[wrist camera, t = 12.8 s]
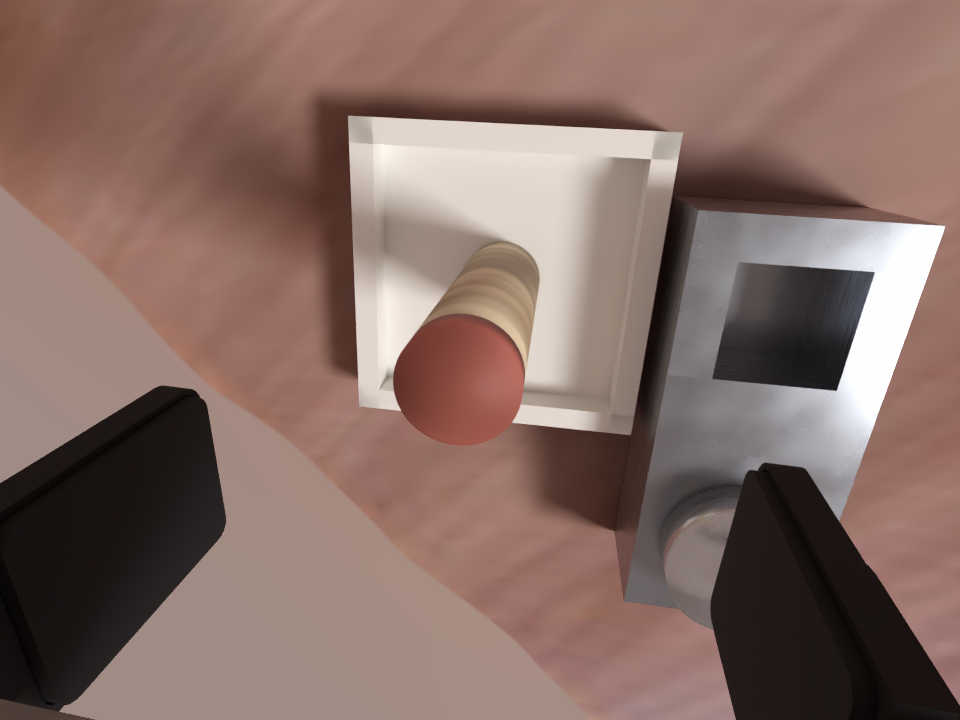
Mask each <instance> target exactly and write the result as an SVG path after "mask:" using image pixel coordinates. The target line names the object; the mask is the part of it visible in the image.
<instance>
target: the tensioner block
mask: <svg viewBox="0 0 960 720" xmlns="http://www.w3.org/2000/svg"><path fill="white" fill-rule="evenodd" d="M944 228H945V226H943V225H939V224H935V223H931V222H927V221H922V220H918V219H914V218H910V217H906V216H902V215H898V214H894V213H889V212H885V211H881V210H877V209H873V208H866V207H850V206H833V205H817V204H801V203H785V202H768V201H752V200H736V199H720V198H703V197H687V196H672V202H671V208H670V213H669V219H668V225H667V231H666V237H665V242H664V248H663V254H662V260H661V266H660V271H659V277H658V283H657V289H656V295H655V300H654V306H653V312H652V318H651V324H650V329H649V335H648V341H647V347H646V353H645V359H644V364H643V370H642V376H641V382H640V388H639V393H638V399H637V405H636V411H635V417H634V422H633V428H632V434H631V440H630V446H629V451H628V457H627V463H626V469H625V475H624V480H623V486H622V492H621V498H620V504H619V509H618V515H617V521H616V527H615V538H616V546H617V553H618V561H619V569H620V576H621V584H622V591H623V599H624V601H626V602H633V603H640V604H648V605H655V606H662V607H669V608H677V609H680V610H681V611H682V612H683V613H684V614H685V615H686V616H688V617H689V618H690V619H692V620H693V621H695V622H697V623H699V624H700V625H703V626H705V627H708V628H710V629H713V625H712V621H711V614H710V603H711V596H712V592H713V589H714V585H715V582H716V578H717V574H718V571H719V567H720V564H721V560H722V556H723V553H724V549H725V546H726V542H727V539H728V535H729V531H730V528H731V524H732V521H733V517H734V513H735V510H736V506H737V503H738V499H739V496H740V492H741V488H742V485H743V481H744V478H745V475H746V473H747V472H748V471H749V470H756V471H758V469H759V467H760V466H761V464H763V463H764V462H765V463H773V464H781V465H789V466H797V467H802V468H805V469H806V470H807V471H808V473H809V474H810V476H811V478H812V479H813V481H814V482H815V484H816V485H817V487H818V489H819V490H820V492H821V493H822V495H823V497H824V498H825V500H826V501H827V503H828V504H829V506H830V508H831V509H832V511H833V512H834V514H835V516H836V517H837V519H838V520H839V521H840V518H841V516H842V513H843V510H844V507H845V504H846V502H847V499H848V496H849V493H850V490H851V488H852V485H853V482H854V479H855V477H856V474H857V471H858V468H859V465H860V463H861V460H862V457H863V454H864V451H865V449H866V446H867V443H868V440H869V438H870V435H871V432H872V429H873V426H874V424H875V421H876V418H877V415H878V412H879V410H880V407H881V404H882V401H883V398H884V396H885V393H886V390H887V387H888V385H889V382H890V379H891V376H892V373H893V371H894V368H895V365H896V362H897V359H898V357H899V354H900V351H901V348H902V346H903V343H904V340H905V337H906V334H907V332H908V329H909V326H910V323H911V320H912V318H913V315H914V312H915V309H916V307H917V304H918V301H919V298H920V295H921V293H922V290H923V287H924V284H925V281H926V279H927V276H928V273H929V270H930V267H931V265H932V262H933V259H934V256H935V254H936V251H937V248H938V245H939V242H940V240H941V237H942V234H943V231H944Z"/></svg>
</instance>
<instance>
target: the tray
mask: <svg viewBox="0 0 960 720" xmlns="http://www.w3.org/2000/svg"><path fill="white" fill-rule="evenodd" d="M348 130H349V156H350V181H351V207H352V232H353V258H354V283H355V309H356V334H357V360H358V385H359V406H361V407H371V408H380V409H389V410H399V411H401V409H400V407H399V405H398V403H397V400H396V398H395V394H394V389H393V373H394V368H395V365H396V362H397V359H398V357H399V355H400V353H401V352H402V350H403V349H404V348H405V346H406V345H407V344H408V342H409V341H410V340H411V338H412V337H413V336H414V334H415V333H416V331H417V330H418V329H419V327H420V326H421V325H422V323H423V322H424V321H425V319H426V318H427V317H428V315H429V314H430V313H431V311H432V310H433V309H434V307H435V306H436V305H437V303H438V302H439V301H440V299H441V298H442V297H443V295H444V294H445V293H446V291H447V290H448V289H449V287H450V286H451V284H452V283H453V282H454V280H455V279H456V278H457V276H458V275H459V274H460V272H461V271H462V270H463V268H464V267H465V266H466V264H467V263H468V262H469V260H470V259H471V258H472V256H473V255H474V254H475V253H476V252H477V251H478V250H479V249H480V248H482V247H483V246H485V245H488V244H490V243H494V242H510V243H514V244H517V245H519V246H521V247H522V248H524V249H525V250H526V251H528V252H529V253H530V254H531V256H532V257H533V258H534V260H535V262H536V264H537V266H538V270H539V275H540V283H539V290H538V296H537V303H536V309H535V316H534V322H533V329H532V336H531V342H530V349H529V355H528V362H527V369H526V375H525V382H524V388H523V395H522V402H521V405H520V408H519V411H518V413H517V415H516V417H515V418H514V420H513V421H512V423H521V424H530V425H539V426H549V427H558V428H568V429H577V430H586V431H596V432H605V433H614V434H624V435H631V432H632V426H633V420H634V414H635V408H636V402H637V397H638V391H639V385H640V379H641V373H642V368H643V362H644V356H645V350H646V344H647V338H648V333H649V327H650V321H651V315H652V309H653V304H654V298H655V292H656V286H657V280H658V274H659V269H660V263H661V257H662V251H663V245H664V240H665V234H666V228H667V222H668V216H669V210H670V205H671V199H672V193H673V187H674V181H675V175H676V170H677V164H678V158H679V152H680V146H681V141H682V135H683V132H663V131H643V130H623V129H603V128H583V127H563V126H543V125H523V124H503V123H483V122H463V121H443V120H423V119H403V118H382V117H362V116H348Z"/></svg>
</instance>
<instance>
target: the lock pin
mask: <svg viewBox="0 0 960 720" xmlns="http://www.w3.org/2000/svg"><path fill="white" fill-rule="evenodd" d="M539 283H540V275H539V270H538V266H537V264H536V262H535V260H534V258H533V257H532V256H531V254H530V253H529V252H528V251H526V250H525V249H524V248H522V247H521V246H519V245H517V244H514V243H510V242H494V243H490V244H488V245H485V246H483V247H482V248H480V249H479V250H478V251H477V252H476V253H475V254H474V255H473V256H472V258H471V259H470V260H469V262H468V263H467V264H466V266H465V267H464V268H463V270H462V271H461V272H460V274H459V275H458V276H457V278H456V279H455V280H454V282H453V283H452V284H451V286H450V287H449V289H448V290H447V291H446V293H445V294H444V295H443V297H442V298H441V299H440V301H439V302H438V303H437V305H436V306H435V307H434V309H433V310H432V311H431V313H430V314H429V315H428V317H427V318H426V319H425V321H424V322H423V323H422V325H421V326H420V327H419V329H418V330H417V331H416V333H415V334H414V336H413V337H412V338H411V340H410V341H409V342H408V344H407V345H406V346H405V348H404V349H403V350H402V352H401V353H400V355H399V357H398V359H397V362H396V365H395V368H394V373H393V389H394V394H395V398H396V400H397V403H398V405H399V407H400V409H401V411H402V413H403V414H404V416H405V417H406V418H407V420H408V421H409V422H410V423H411V424H412V425H413V426H414V427H415V428H416V429H417V430H419V431H420V432H422V433H423V434H424V435H426V436H428V437H430V438H432V439H434V440H437V441H439V442H443V443H446V444H451V445H463V446H464V445H474V444H479V443H482V442H486V441H488V440H490V439H492V438H494V437H496V436H498V435H499V434H501V433H502V432H503V431H504V430H505V429H507V427H508V426H509V425H510V424H511V423H512V421H513V420H514V418H515V417H516V415H517V413H518V411H519V408H520V405H521V402H522V395H523V388H524V382H525V375H526V369H527V362H528V355H529V349H530V342H531V336H532V329H533V322H534V316H535V309H536V303H537V296H538V290H539Z"/></svg>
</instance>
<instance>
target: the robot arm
mask: <svg viewBox="0 0 960 720" xmlns="http://www.w3.org/2000/svg"><path fill="white" fill-rule="evenodd" d="M225 524H226V515H225V510H224V503H223V497H222V491H221V485H220V479H219V474H218V467H217V461H216V456H215V450H214V444H213V438H212V432H211V426H210V420H209V415H208V409H207V405H206V403H205V401H204V400H203V399H201V398H200V396H199V395H198V394H197V392H196V391H194V390H193V389H186V388H178V387H170V386H159V387H156V388H154V389H153V390H151V391H150V392H148V393H146V394H145V395H143V396H141V397H140V398H138V399H136V400H135V401H133V402H132V403H130V404H128V405H127V406H125V407H124V408H122V409H120V410H119V411H117V412H116V413H114V414H112V415H111V416H109V417H107V418H106V419H104V420H102V421H101V422H99V423H97V424H96V425H94V426H93V427H91V428H89V429H88V430H86V431H85V432H83V433H81V434H80V435H78V436H76V437H75V438H73V439H72V440H70V441H68V442H67V443H65V444H64V445H62V446H60V447H59V448H57V449H55V450H54V451H52V452H50V453H49V454H47V455H46V456H44V457H43V458H41V459H39V460H37V461H36V462H34V463H33V464H31V465H29V466H28V467H26V468H25V469H23V470H22V471H20V472H18V473H16V474H15V475H13V476H11V477H10V478H8V479H7V480H5V481H3V482H2V483H0V720H94V719H90V718H85V717H80V716H76V715H71V714H66V713H62V712H59V711H60V710H61V708H62V707H63V706H64V705H68V704H70V703H72V702H74V701H75V700H76V699H78V698H79V697H80V696H81V695H82V693H83V692H84V691H85V690H86V689H87V688H88V687H89V686H90V684H91V683H92V682H93V681H94V680H95V679H96V678H97V677H98V675H99V674H100V673H101V672H102V671H103V670H104V668H105V667H106V666H107V665H108V664H109V663H110V662H111V661H112V660H113V658H114V657H115V656H116V655H117V654H118V653H119V652H120V651H121V649H122V648H123V647H124V646H125V645H126V643H128V641H129V640H130V639H131V638H132V637H133V636H134V635H135V633H136V632H137V631H138V630H139V629H140V628H141V627H142V625H143V624H144V623H145V622H146V621H147V620H148V619H149V618H150V617H151V615H152V614H153V613H154V612H155V611H156V610H157V609H158V607H159V606H160V605H161V604H162V603H163V602H164V601H165V600H166V598H167V597H168V596H169V595H170V594H171V593H172V592H173V590H174V589H175V588H176V587H177V586H178V585H179V584H180V583H181V581H182V580H183V579H184V578H185V577H186V576H187V575H188V573H189V572H190V571H191V570H192V569H193V568H194V567H195V565H196V564H197V563H198V562H199V561H200V560H201V559H202V558H203V556H204V555H205V554H206V553H207V552H208V551H209V550H210V549H211V547H212V546H213V545H214V544H215V543H216V542H217V540H218V539H219V538H220V537H221V535H222V533H223V531H224V528H225ZM710 614H711V621H712V625H713V629H714V633H715V638H716V642H717V646H718V650H719V654H720V658H721V662H722V666H723V670H724V674H725V678H726V682H727V686H728V690H729V694H730V698H731V702H732V706H733V710H734V714H735V718H736V720H960V705H959V704H958V702H957V701H956V699H955V698H954V696H953V694H952V693H951V691H950V690H949V688H948V687H947V685H946V683H945V682H944V680H943V679H942V677H941V676H940V674H939V672H938V671H937V669H936V668H935V666H934V665H933V663H932V662H931V660H930V658H929V657H928V655H927V654H926V652H925V651H924V649H923V647H922V646H921V644H920V643H919V641H918V640H917V638H916V636H915V635H914V633H913V632H912V630H911V629H910V627H909V626H908V624H907V622H906V621H905V619H904V618H903V616H902V615H901V613H900V611H899V610H898V608H897V607H896V605H895V604H894V602H893V600H892V599H891V597H890V596H889V594H888V593H887V591H886V590H885V588H884V586H883V585H882V583H881V582H880V580H879V579H878V577H877V575H876V574H875V573H874V572H873V570H872V569H871V568H870V567H869V566H868V565H866V563H865V561H864V560H863V558H862V557H861V555H860V554H859V552H858V550H857V549H856V547H855V546H854V544H853V542H852V541H851V539H850V538H849V536H848V535H847V533H846V531H845V530H844V528H843V527H842V525H841V523H840V522H839V520H838V519H837V517H836V516H835V514H834V512H833V511H832V509H831V508H830V506H829V504H828V503H827V501H826V500H825V498H824V497H823V495H822V493H821V492H820V490H819V489H818V487H817V485H816V484H815V482H814V481H813V479H812V478H811V476H810V474H809V473H808V471H807V470H806V469H805V468H802V467H797V466H789V465H781V464H773V463H765V462H764V463H763V464H761V466H760V467H759V469H758V471H756V470H749V471H748V472H747V473H746V475H745V478H744V481H743V485H742V488H741V492H740V496H739V499H738V503H737V506H736V510H735V513H734V517H733V521H732V524H731V528H730V531H729V535H728V539H727V542H726V546H725V549H724V553H723V556H722V560H721V564H720V567H719V571H718V574H717V578H716V582H715V585H714V589H713V592H712V596H711V603H710Z"/></svg>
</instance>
